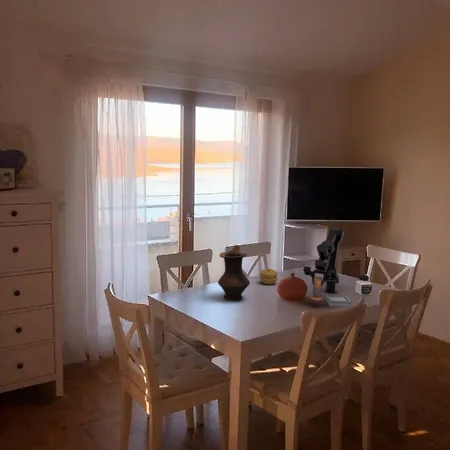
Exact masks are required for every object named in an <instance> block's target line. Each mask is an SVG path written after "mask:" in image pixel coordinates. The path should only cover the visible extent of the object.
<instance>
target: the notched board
mask: <svg viewBox="0 0 450 450" xmlns="http://www.w3.org/2000/svg"><path fill="white" fill-rule="evenodd" d="M325 301H326V303H327V304H328V306H329V307H345V308H347V307H350V308H351V305H352V301H351V300H350V299H349V297H348V296H347V295H344V297H330V296H329V294H326V295H325Z"/></svg>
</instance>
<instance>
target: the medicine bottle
mask: <svg viewBox="0 0 450 450" xmlns="http://www.w3.org/2000/svg"><path fill="white" fill-rule="evenodd" d="M370 277H371V276H370V275H369V274H367V273H361V274H359V277H358V280H356V281H355V293H356V294H358V295H360V296H371V295H372V292H373V291H372V290H373V289H372V287H373V283H371V282H370Z"/></svg>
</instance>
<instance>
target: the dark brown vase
mask: <svg viewBox="0 0 450 450" xmlns="http://www.w3.org/2000/svg"><path fill="white" fill-rule="evenodd" d="M247 256H248V254H247V253H246V252H244V251H242V250H241V248H240V245H239V244H235V245H234V246H233V247H232V249H231V250H228V251H224V252H220V254H219V257H220V258H223V260H224V261H223V262H224V272H223V274H222V275H221V277H219V278H218V279H219V280H218V281H217V284H218V285H219V287H220V288H221V289H222V290H223V292H224V295H223V299H224V300H226V301H240V300H243V295H242V294H243V292H244V291H245V290H246V289H247V287H248V286H250V284H251V283H250V280H249V278H248V277H247V276H246V274H245V273H244V272H243V259H244V257H247Z"/></svg>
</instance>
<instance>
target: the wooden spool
mask: <svg viewBox="0 0 450 450" xmlns="http://www.w3.org/2000/svg"><path fill="white" fill-rule="evenodd" d="M322 280H323V277H320V276H315V277H314V285H313V287H312V295H311V296H310V299H312V300H313V301H323V300H324V299H323V298H324V296H323V295H322V294H323V288H322V287H323V285H322V286H321V282H322Z"/></svg>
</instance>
